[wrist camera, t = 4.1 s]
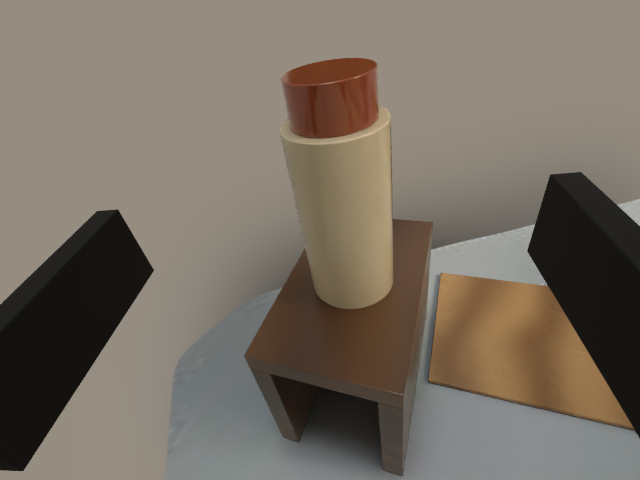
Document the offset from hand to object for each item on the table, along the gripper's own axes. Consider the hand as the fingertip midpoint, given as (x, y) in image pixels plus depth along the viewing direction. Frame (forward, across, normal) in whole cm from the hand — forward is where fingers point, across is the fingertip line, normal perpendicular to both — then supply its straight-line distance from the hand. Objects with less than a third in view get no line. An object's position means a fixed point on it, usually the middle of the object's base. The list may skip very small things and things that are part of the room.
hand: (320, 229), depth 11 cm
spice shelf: (+10, 0, -24) cm, 26 cm away
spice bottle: (+10, 0, -12) cm, 15 cm away
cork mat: (+12, +17, -24) cm, 32 cm away
